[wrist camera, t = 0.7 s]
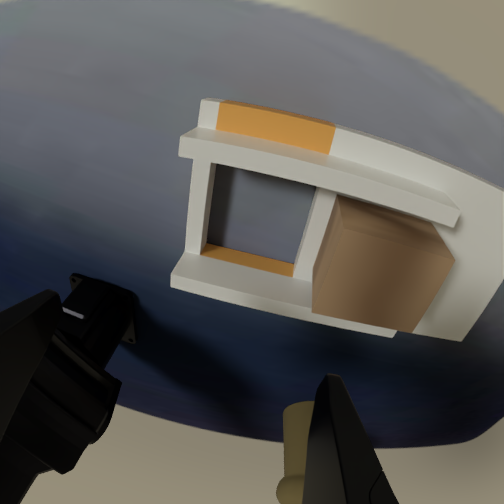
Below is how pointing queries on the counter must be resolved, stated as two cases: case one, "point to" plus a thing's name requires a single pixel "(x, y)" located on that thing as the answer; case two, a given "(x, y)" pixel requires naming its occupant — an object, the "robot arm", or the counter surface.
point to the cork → (294, 451)
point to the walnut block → (378, 266)
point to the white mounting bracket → (328, 186)
